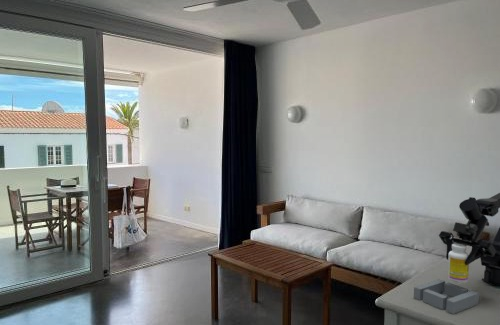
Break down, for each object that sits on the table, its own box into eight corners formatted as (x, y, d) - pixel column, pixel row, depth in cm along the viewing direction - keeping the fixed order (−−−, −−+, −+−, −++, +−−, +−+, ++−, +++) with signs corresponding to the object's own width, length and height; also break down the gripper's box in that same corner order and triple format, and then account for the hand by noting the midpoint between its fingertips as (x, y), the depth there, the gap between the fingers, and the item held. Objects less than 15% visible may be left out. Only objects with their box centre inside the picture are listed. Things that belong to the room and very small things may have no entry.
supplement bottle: (470, 284, 139) (472, 248, 138) (450, 282, 140) (452, 247, 139) (464, 277, 145) (465, 243, 144) (445, 276, 146) (446, 242, 145)
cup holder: (438, 289, 150) (439, 279, 149) (478, 304, 137) (478, 292, 136) (413, 297, 142) (414, 287, 142) (453, 314, 129) (453, 302, 129)
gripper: (442, 210, 151) (423, 242, 146) (493, 219, 135) (473, 256, 130) (453, 227, 155) (435, 259, 151) (503, 238, 139) (485, 274, 135)
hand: (456, 261), depth 141 cm, fingers closed on supplement bottle, 7 cm apart
